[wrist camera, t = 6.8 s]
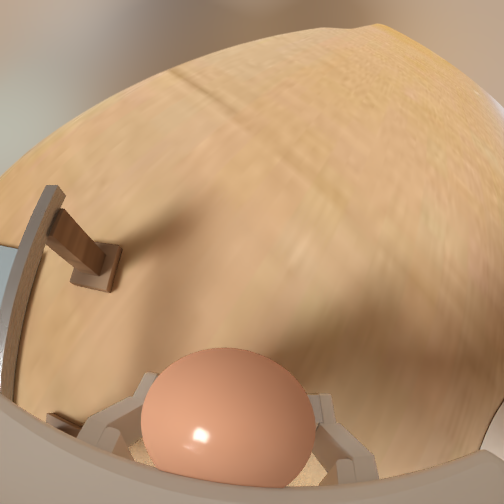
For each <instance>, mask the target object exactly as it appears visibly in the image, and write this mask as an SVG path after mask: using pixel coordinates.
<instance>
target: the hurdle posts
mask: <svg viewBox="0 0 504 504" xmlns="http://www.w3.org/2000/svg"><path fill="white" fill-rule="evenodd" d="M46 245H48V246H49V247H50V248H51V249H52V250H53V251H55V252H56V253H57V254H58V255H59V256H61V257H62V258H63V259H64V260H66V261H67V262H68V263H69V264H71V265H72V266H73V267H74V270H73V273H72V276H71V279H70V282H71V283H72V284H74V285H77V286H81V287H85V288H90V289H94V290H99V291H103V292H108V293H110V292H111V288H112V284H113V280H114V276H115V273H116V269H117V266H118V262H119V259H120V256H121V252H122V248H121V247H120V246H119V245H113V244H106V243H98V242H94V241H93V240H92V239H91V238H90V237H89V236H88V235H87V234H86V233H85V232H84V231H83V229H82V228H81V227H80V226H79V225H78V224H77V223H76V222H75V221H74V219H73V218H72V217H71V216H70V215H69V214H68V212H67V211H66V210H65V209H61V208H60V210H59V212H58V214H57V217H56V219H55V221H54V224H53V226H52V229H51V231H50V234H49V236H48V239H47V242H46ZM46 423H48V424H50V425H51V426H53V427H55V428H57V429H59V430H61V431H63V432H65V433H67V434H69V435H71V436H73V437H75V438H76V437H77V436H78V434H79V432H80V430H81V429H82V427H80V426H78V425H76V424H74V423H71V422H69V421H67V420H65V419H63V418H61V417H59V416H57V415H55V414H53V413H47V420H46Z"/></svg>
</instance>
